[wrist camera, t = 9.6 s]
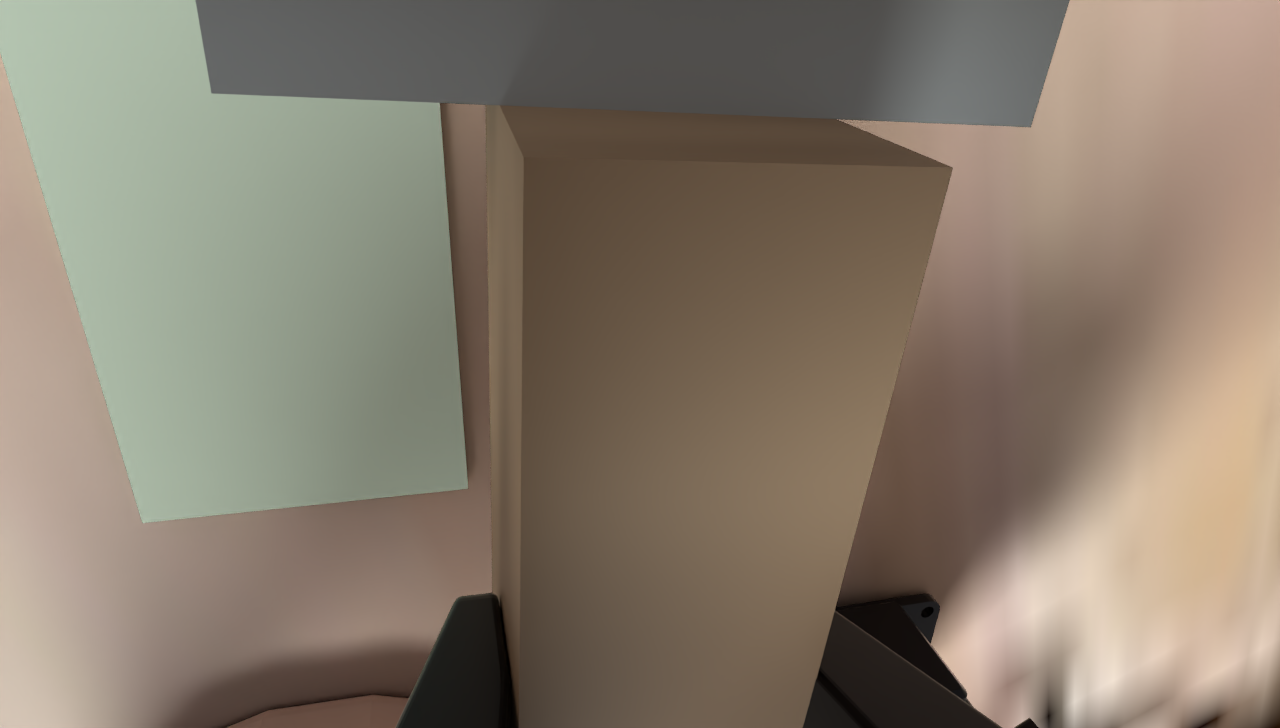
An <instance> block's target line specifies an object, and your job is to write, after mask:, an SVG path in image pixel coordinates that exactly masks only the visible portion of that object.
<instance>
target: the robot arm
mask: <svg viewBox="0 0 1280 728" xmlns="http://www.w3.org/2000/svg"><path fill="white" fill-rule="evenodd" d="M939 610H940V606H939V604H938V603H937V601H936V600H935V599H934V598H933V597H932V595H930V594H919V595H913V596H906V597H900V598H894V599H887V600H881V601H875V602H868V603H862V604H856V605H849V606H843V607H836V608H835V612H834V615H833V619H832V623H831V627H830V630H829V634H828V638H827V641H826V645H825V649H824V653H823V656H822V660H821V664H820V668H819V671H818V675H817V679H816V681H815V684H814V688H813V692H812V695H811V699H810V703H809V706H808V710H807V714H806V717H805V721H804V725H803V728H1002V727H1001V726H999V725H998V724H996V723H995V722H993V721H992V720H991V719H989V718H988V717H986V716H985V715H983V714H982V713H981V712H979V711H978V710H976V709H975V708H974V707H973V706H972V705H971V703H970V702H969V701H968V699H967V698H966V697H967V692H966V690H965V689H964V687H963V686H962V685H961V683H960V682H959V681H958V679H957V678H956V677H955V675H954V674H953V673H952V671H951V670H950V669H949V668H948V666H947V665H946V664H945V662H944V661H943V660H942V658H941V657H940V656H939V654H938V653H937V652H936V651H935V649H934V648H933V647H932V645H931V640H932V636H933V633H934V629H935V625H936V621H937V618H938V614H939ZM395 728H510V680H509V670H508V663H507V656H506V649H505V642H504V635H503V627H502V620H501V613H500V606H499V600H498V597H497V596H496V595H495V594H494V593H486V594H477V595H469V596H461V597H459V598H458V599H456V601H455V602H454V604H453V606H452V608H451V610H450V612H449V614H448V616H447V618H446V620H445V623H444V625H443V627H442V629H441V631H440V633H439V635H438V637H437V640H436V642H435V644H434V646H433V648H432V650H431V652H430V654H429V657H428V659H427V661H426V663H425V665H424V667H423V669H422V671H421V674H420V676H419V678H418V680H417V682H416V684H415V686H414V688H413V691H412V693H411V695H410V697H409V699H408V701H407V703H406V705H405V708H404V710H403V712H402V714H401V716H400V718H399V720H398V723H397V725H396V727H395ZM1015 728H1038V727H1037V726H1036V724H1035V723H1034V722H1033V721H1032V720H1031V719H1030V718H1028V719H1027V720H1025V721H1023V722H1022V723H1020V724H1019V725H1017V726H1016V727H1015Z"/></svg>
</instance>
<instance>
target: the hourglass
mask: <svg viewBox="0 0 1280 728" xmlns="http://www.w3.org/2000/svg"><path fill="white" fill-rule="evenodd" d="M408 699H409V698H402V697H391V696H381V695H367V696H361V697H354V698H347V699H340V700H334V701H327V702H320V703H314V704H307V705H300V706H294V707H287V708H280V709H274V710H268V711H265V712H263V713H260V714H258V715H256V716H253V717H251V718H248V719H246V720H243V721H241V722H238V723H236V724H234V725H231V726H229V727H226V728H395V727H396V725H397V723H398V720H399V718H400V716H401V714H402V712H403V710H404V708H405V705H406V703H407V701H408Z"/></svg>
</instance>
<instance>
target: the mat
mask: <svg viewBox="0 0 1280 728" xmlns="http://www.w3.org/2000/svg"><path fill="white" fill-rule="evenodd" d="M0 54H1V57H2V60H3V64H4V67H5V70H6V73H7V77H8V80H9V83H10V87H11V90H12V93H13V97H14V100H15V103H16V107H17V110H18V113H19V117H20V120H21V123H22V126H23V130H24V133H25V136H26V140H27V143H28V146H29V150H30V153H31V156H32V160H33V163H34V166H35V169H36V173H37V176H38V179H39V183H40V186H41V189H42V193H43V196H44V199H45V203H46V206H47V209H48V213H49V216H50V219H51V222H52V226H53V229H54V232H55V236H56V239H57V242H58V246H59V249H60V252H61V256H62V259H63V262H64V265H65V269H66V272H67V275H68V279H69V282H70V285H71V289H72V292H73V295H74V299H75V302H76V305H77V309H78V312H79V315H80V318H81V322H82V325H83V328H84V332H85V335H86V338H87V342H88V345H89V348H90V352H91V355H92V358H93V361H94V365H95V368H96V371H97V375H98V378H99V381H100V385H101V388H102V391H103V395H104V398H105V401H106V405H107V408H108V411H109V414H110V418H111V421H112V424H113V428H114V431H115V434H116V438H117V441H118V444H119V448H120V451H121V454H122V457H123V461H124V464H125V467H126V471H127V474H128V477H129V481H130V484H131V487H132V491H133V494H134V497H135V501H136V504H137V507H138V510H139V514H140V517H141V520H142V523H148V522H158V521H167V520H177V519H186V518H196V517H205V516H215V515H224V514H234V513H243V512H253V511H262V510H272V509H281V508H291V507H300V506H310V505H319V504H329V503H338V502H348V501H357V500H367V499H376V498H386V497H395V496H404V495H414V494H423V493H433V492H442V491H452V490H461V489H468V478H467V465H466V451H465V438H464V424H463V411H462V397H461V384H460V370H459V357H458V343H457V330H456V316H455V303H454V289H453V276H452V262H451V249H450V235H449V222H448V208H447V195H446V181H445V168H444V154H443V141H442V127H441V114H440V103H430V102H406V101H382V100H357V99H333V98H308V97H284V96H260V95H235V94H211V88H210V82H209V76H208V71H207V65H206V59H205V53H204V47H203V42H202V36H201V30H200V24H199V18H198V13H197V7H196V1H195V0H0Z"/></svg>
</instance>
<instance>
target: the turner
mask: <svg viewBox="0 0 1280 728" xmlns="http://www.w3.org/2000/svg"><path fill="white" fill-rule="evenodd" d="M195 1H196V7H197V13H198V18H199V24H200V30H201V36H202V42H203V47H204V53H205V59H206V65H207V71H208V76H209V82H210V88H211V94H235V95H260V96H284V97H308V98H333V99H357V100H382V101H406V102H430V103H455V104H479V105H485V107H486V178H487V249H488V319H489V390H490V461H491V532H492V593H494V594H495V595H496V596H497V597H498V600H499V606H500V613H501V620H502V627H503V635H504V642H505V649H506V656H507V663H508V670H509V680H510V728H803V725H804V721H805V717H806V714H807V710H808V706H809V703H810V699H811V695H812V692H813V688H814V684H815V681H816V679H817V675H818V671H819V668H820V664H821V660H822V656H823V653H824V649H825V645H826V641H827V638H828V634H829V630H830V627H831V623H832V619H833V615H834V612H835V608H836V604H837V600H838V597H839V593H840V589H841V585H842V582H843V578H844V574H845V570H846V567H847V563H848V559H849V555H850V552H851V548H852V544H853V540H854V537H855V533H856V529H857V525H858V522H859V518H860V514H861V510H862V507H863V503H864V499H865V495H866V492H867V488H868V484H869V480H870V477H871V473H872V469H873V465H874V462H875V458H876V454H877V450H878V447H879V443H880V439H881V435H882V432H883V428H884V424H885V420H886V417H887V413H888V409H889V405H890V402H891V398H892V394H893V390H894V387H895V383H896V379H897V375H898V372H899V368H900V364H901V360H902V357H903V353H904V349H905V345H906V342H907V338H908V334H909V330H910V327H911V323H912V319H913V315H914V312H915V308H916V304H917V300H918V297H919V293H920V289H921V285H922V282H923V278H924V274H925V270H926V267H927V263H928V259H929V255H930V252H931V248H932V244H933V240H934V237H935V233H936V229H937V225H938V222H939V218H940V214H941V210H942V207H943V203H944V199H945V195H946V192H947V188H948V184H949V180H950V177H951V173H952V169H953V168H952V167H950V166H948V165H945V164H943V163H940V162H938V161H936V160H933V159H931V158H928V157H926V156H923V155H921V154H919V153H916V152H914V151H911V150H909V149H907V148H904V147H902V146H899V145H897V144H894V143H892V142H890V141H887V140H885V139H882V138H880V137H878V136H875V135H873V134H870V133H868V132H866V131H863V130H861V129H858V128H856V127H853V126H851V125H849V124H846V123H844V122H841V121H839V120H837V119H845V120H869V121H894V122H918V123H943V124H967V125H991V126H1016V127H1031V124H1032V121H1033V118H1034V115H1035V111H1036V108H1037V105H1038V102H1039V98H1040V95H1041V92H1042V89H1043V85H1044V82H1045V79H1046V75H1047V72H1048V69H1049V66H1050V62H1051V59H1052V56H1053V53H1054V49H1055V46H1056V43H1057V40H1058V36H1059V33H1060V30H1061V26H1062V23H1063V20H1064V17H1065V13H1066V10H1067V7H1068V4H1069V0H195Z"/></svg>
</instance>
